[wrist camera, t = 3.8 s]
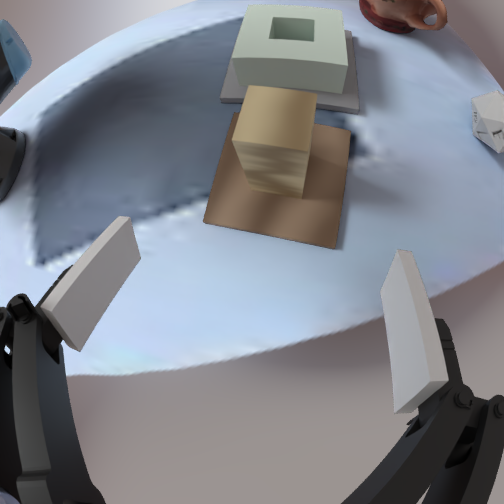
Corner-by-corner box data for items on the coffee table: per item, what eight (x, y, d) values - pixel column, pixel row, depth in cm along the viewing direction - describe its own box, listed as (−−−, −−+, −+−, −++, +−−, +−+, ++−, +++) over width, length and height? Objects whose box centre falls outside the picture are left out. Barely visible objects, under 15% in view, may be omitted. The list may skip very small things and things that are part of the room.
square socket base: (221, 102, 30) (209, 70, 24) (242, 28, 31) (236, -1, 26) (357, 114, 28) (368, 82, 22) (350, 35, 29) (355, 6, 23)
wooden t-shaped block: (205, 223, 28) (159, 187, 17) (235, 117, 30) (213, 50, 19) (333, 249, 26) (362, 225, 16) (349, 135, 28) (371, 70, 17)
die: (450, 107, 27) (480, 109, 19) (486, 83, 22) (519, 81, 14) (477, 156, 28) (508, 172, 20) (510, 131, 24) (545, 141, 16)
